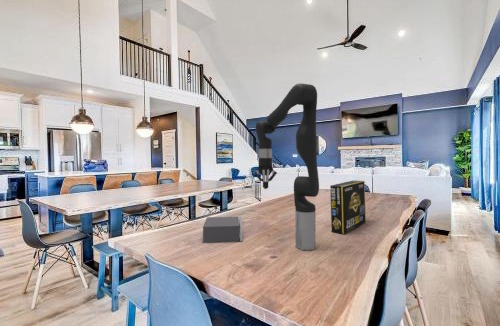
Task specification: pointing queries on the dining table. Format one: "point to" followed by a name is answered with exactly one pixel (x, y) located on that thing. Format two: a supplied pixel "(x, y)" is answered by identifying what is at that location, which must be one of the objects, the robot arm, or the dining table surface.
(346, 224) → the box
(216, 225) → the housing
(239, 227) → the tray
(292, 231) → the dining table surface
